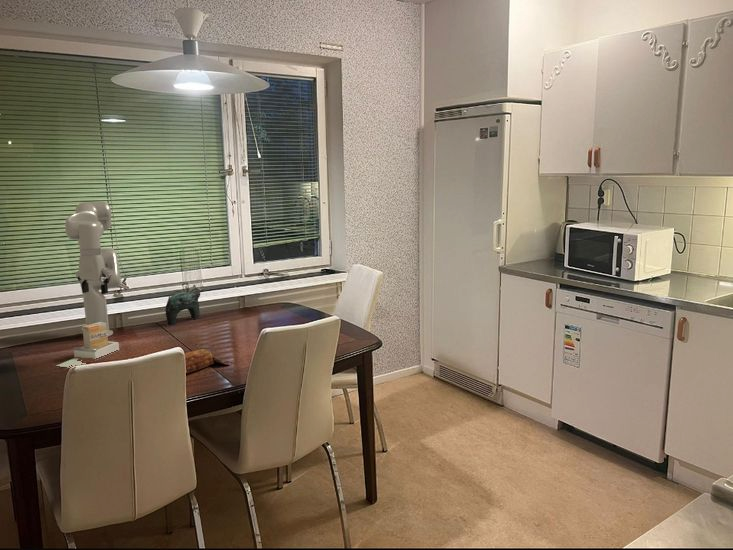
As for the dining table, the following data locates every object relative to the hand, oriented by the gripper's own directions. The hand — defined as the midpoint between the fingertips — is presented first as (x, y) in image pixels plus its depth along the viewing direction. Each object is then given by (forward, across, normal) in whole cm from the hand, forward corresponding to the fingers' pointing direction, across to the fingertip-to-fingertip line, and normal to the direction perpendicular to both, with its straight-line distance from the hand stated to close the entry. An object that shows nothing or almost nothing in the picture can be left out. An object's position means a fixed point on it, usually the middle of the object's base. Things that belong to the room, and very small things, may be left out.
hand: (95, 292), depth 233 cm
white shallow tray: (+26, -1, -1) cm, 27 cm away
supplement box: (+27, -1, -1) cm, 27 cm away
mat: (+26, 0, -14) cm, 30 cm away
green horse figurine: (+27, +4, +55) cm, 61 cm away
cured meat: (+27, +50, -5) cm, 57 cm away
